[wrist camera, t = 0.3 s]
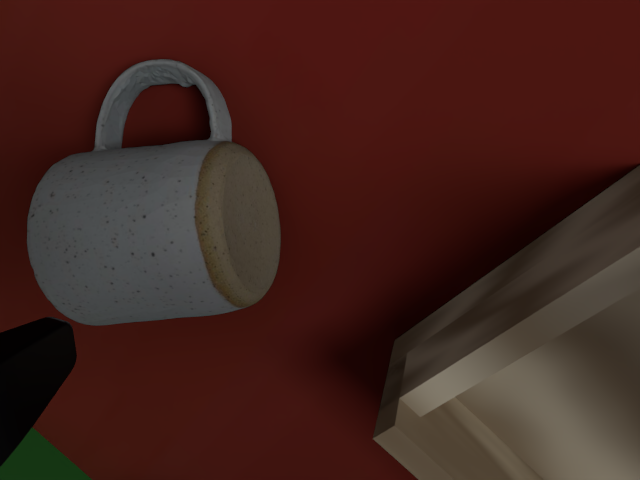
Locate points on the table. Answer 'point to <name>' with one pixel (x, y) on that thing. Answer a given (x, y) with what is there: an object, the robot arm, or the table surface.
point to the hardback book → (39, 462)
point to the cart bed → (530, 361)
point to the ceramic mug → (154, 218)
